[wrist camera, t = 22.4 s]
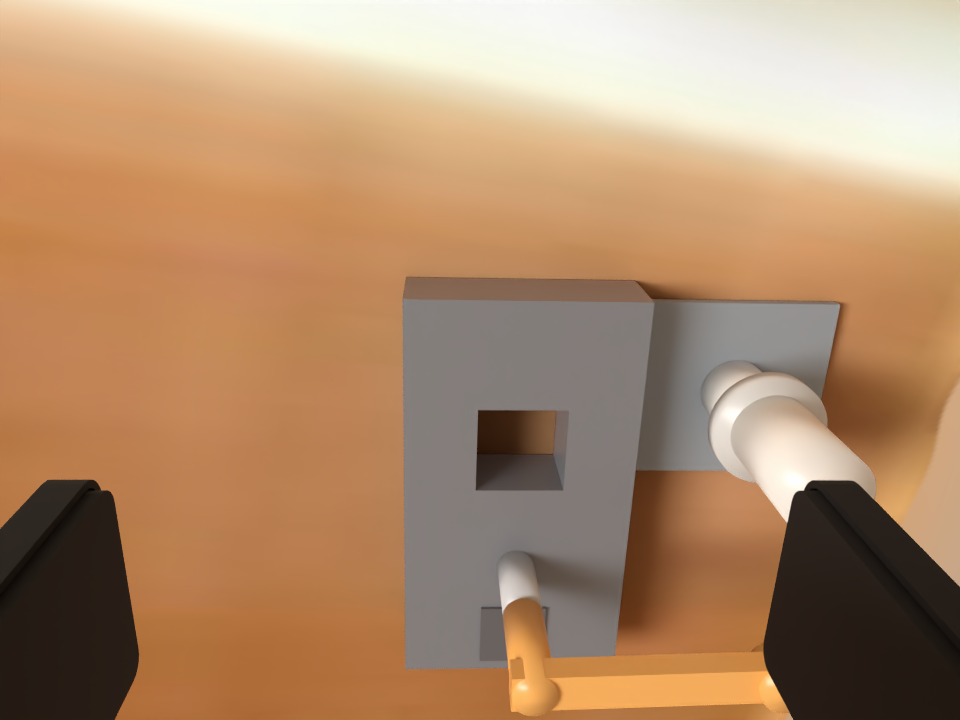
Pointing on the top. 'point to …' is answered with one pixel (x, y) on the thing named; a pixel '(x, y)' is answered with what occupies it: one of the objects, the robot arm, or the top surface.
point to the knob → (775, 433)
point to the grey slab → (518, 461)
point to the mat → (705, 345)
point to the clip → (624, 674)
